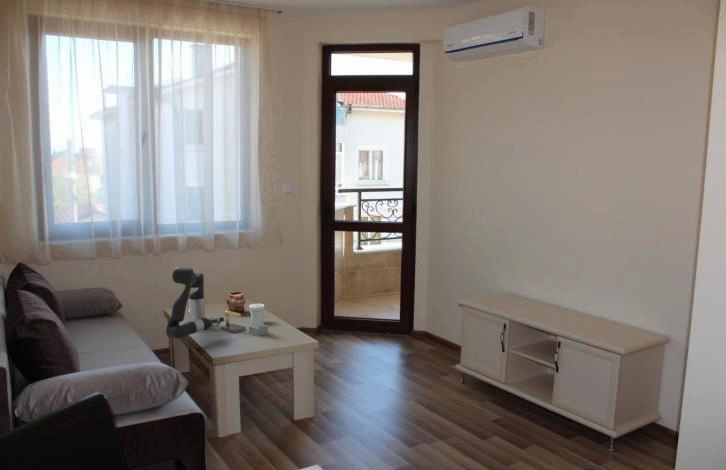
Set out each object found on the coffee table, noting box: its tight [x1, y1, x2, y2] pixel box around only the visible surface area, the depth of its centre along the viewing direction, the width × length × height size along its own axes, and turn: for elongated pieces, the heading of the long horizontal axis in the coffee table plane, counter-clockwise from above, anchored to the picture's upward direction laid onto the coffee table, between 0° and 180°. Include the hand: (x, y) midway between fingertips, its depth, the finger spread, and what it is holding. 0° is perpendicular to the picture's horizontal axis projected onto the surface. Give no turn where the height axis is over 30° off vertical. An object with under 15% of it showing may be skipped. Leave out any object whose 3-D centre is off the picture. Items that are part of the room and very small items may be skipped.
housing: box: [248, 324, 269, 337], centre depth 370 cm, size 8×8×5 cm
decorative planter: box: [225, 291, 246, 315], centre depth 417 cm, size 20×12×14 cm, turn 37°
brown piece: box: [224, 309, 242, 325], centre depth 377 cm, size 13×3×9 cm, turn 53°
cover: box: [252, 308, 265, 328], centre depth 369 cm, size 5×5×11 cm
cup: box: [248, 303, 265, 323], centre depth 394 cm, size 10×10×11 cm
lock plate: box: [220, 323, 247, 334], centre depth 378 cm, size 13×9×2 cm
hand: (223, 319), depth 364 cm, fingers closed
